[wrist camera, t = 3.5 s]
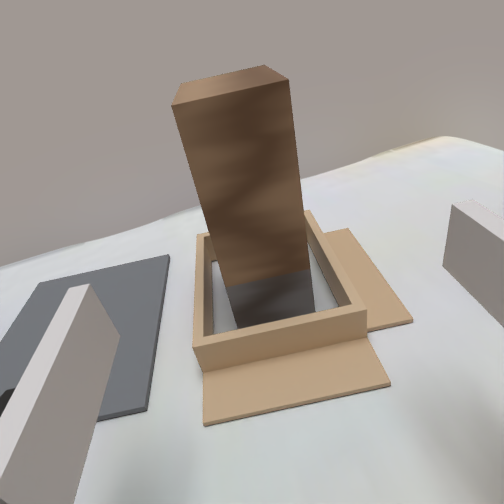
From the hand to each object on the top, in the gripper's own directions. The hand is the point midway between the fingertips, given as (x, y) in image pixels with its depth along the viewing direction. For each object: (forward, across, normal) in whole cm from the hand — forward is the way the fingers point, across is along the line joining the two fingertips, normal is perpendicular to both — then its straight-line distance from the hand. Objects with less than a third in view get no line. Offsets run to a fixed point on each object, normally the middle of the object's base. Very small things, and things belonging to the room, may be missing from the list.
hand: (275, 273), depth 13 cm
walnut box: (+9, 0, -8) cm, 12 cm away
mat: (+9, -14, -8) cm, 19 cm away
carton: (+9, +1, -8) cm, 12 cm away
